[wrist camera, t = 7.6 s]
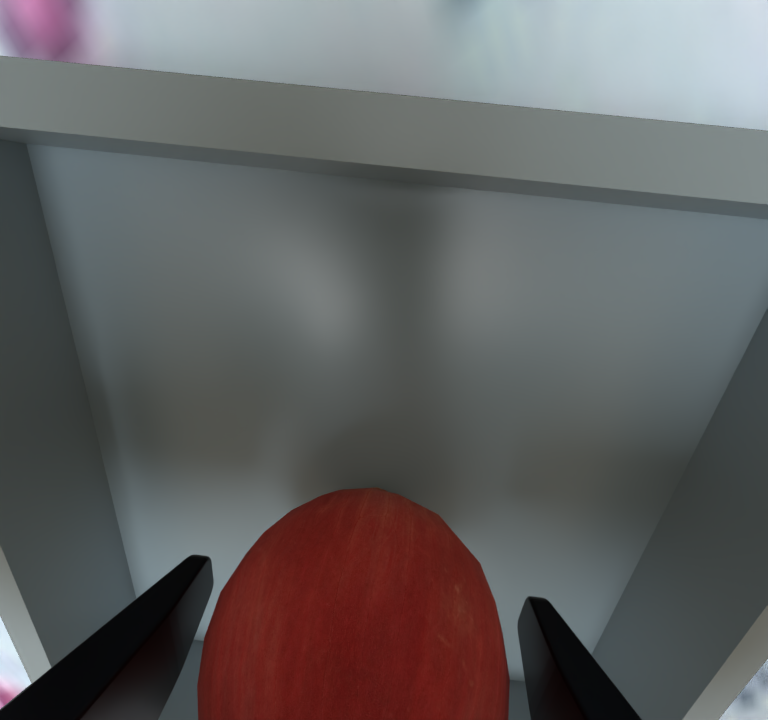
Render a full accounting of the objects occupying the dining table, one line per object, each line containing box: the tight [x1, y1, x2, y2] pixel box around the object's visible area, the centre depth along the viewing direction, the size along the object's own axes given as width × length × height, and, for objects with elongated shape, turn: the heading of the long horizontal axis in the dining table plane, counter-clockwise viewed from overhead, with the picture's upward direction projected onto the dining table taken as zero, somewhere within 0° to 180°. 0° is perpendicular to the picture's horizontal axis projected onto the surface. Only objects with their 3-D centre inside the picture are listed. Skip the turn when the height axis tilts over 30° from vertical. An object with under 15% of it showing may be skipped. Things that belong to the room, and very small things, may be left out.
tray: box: [0, 56, 768, 720], centre depth 10 cm, size 18×18×4 cm
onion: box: [197, 487, 510, 720], centre depth 7 cm, size 6×6×8 cm
